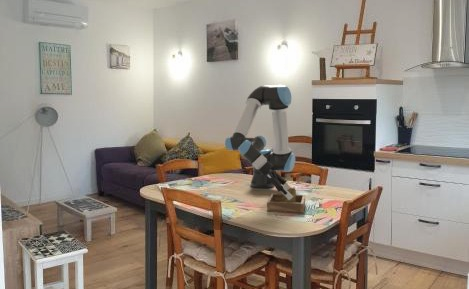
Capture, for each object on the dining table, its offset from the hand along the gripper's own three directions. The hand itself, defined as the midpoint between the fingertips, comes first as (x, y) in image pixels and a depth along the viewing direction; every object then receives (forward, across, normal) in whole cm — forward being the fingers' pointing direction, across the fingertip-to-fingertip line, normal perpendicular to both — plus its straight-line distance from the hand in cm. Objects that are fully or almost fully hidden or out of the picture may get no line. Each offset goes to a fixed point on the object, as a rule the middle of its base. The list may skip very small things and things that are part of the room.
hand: (292, 195), depth 220 cm
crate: (+3, 0, -7) cm, 7 cm away
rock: (+2, 0, -6) cm, 6 cm away
